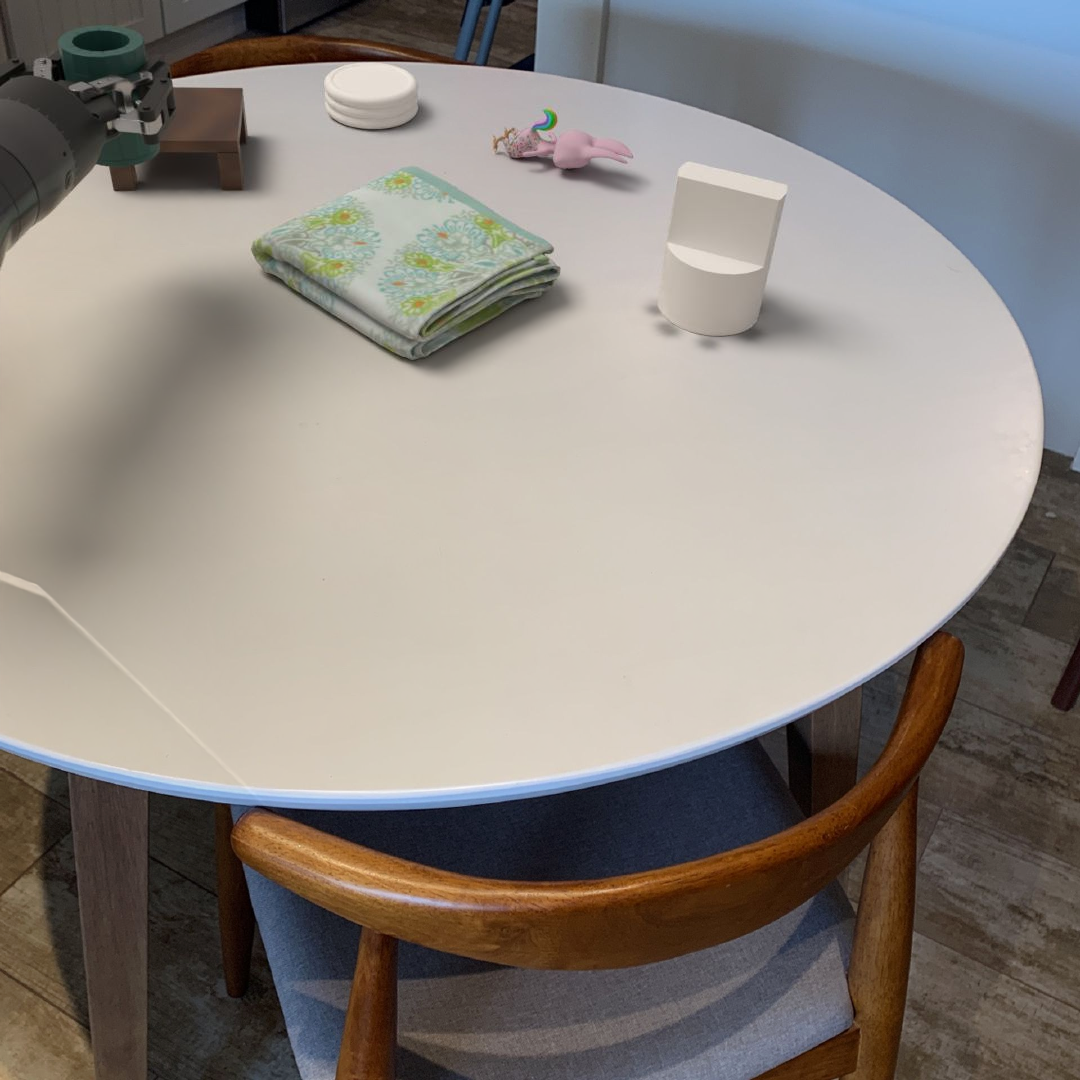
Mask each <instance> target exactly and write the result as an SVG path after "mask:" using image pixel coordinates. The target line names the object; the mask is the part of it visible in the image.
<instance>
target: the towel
mask: <svg viewBox="0 0 1080 1080" xmlns="http://www.w3.org/2000/svg"><path fill="white" fill-rule="evenodd" d="M250 251H251V254H252V255H253V257H254V259H255V261H256V263H257V264H258V266H259V267H260V268H261V270H262V271H264V272H265V273H267V274H272V275H274V276H276V277H277V278H278V279H281V280H282V281H283V282H284V283H285V284H286V285H287V286H288V287H289V288H291V289H293V290H294V291H296V292H298V293H299V294H301V295H302V296H303V297H305V298H307V299H308V300H311V301H312V302H313V303H315V304H316V305H317V306H319V307H321V308H322V309H324V310H325V311H326V312H328V313H330V314H331V315H333V316H335V317H336V318H338V319H340V320H341V321H343V322H344V323H346V324H348V325H349V326H350V327H352V328H354V329H355V330H356V331H358V332H359V333H361V334H363V335H364V336H366V337H368V338H369V339H371V340H372V341H373V342H375V343H376V344H377V345H380V346H381V347H382V348H383V347H384V348H385V349H387V350H389V351H390V352H392V353H394V354H396V355H398V356H400V357H403V358H406V359H409V360H410V361H414V360H418V359H421V358H425V357H426V358H427V357H428V356H430V354H431V353H434V352H436V351H437V350H439V349H441V348H442V347H444V346H445V345H447V344H449V343H450V342H452V341H454V340H456V339H458V338H460V337H461V336H463V335H465V334H466V333H469V332H471V331H472V330H475V329H476V328H478V327H480V326H482V325H484V324H485V323H488V322H489V321H491V320H492V319H494V318H496V317H497V316H499V315H501V314H502V313H504V312H505V311H506V310H508V309H510V308H511V307H514V306H516V305H518V304H519V303H520V302H522V301H524V300H526V299H534V298H539V297H541V296H542V294H543V292H547V291H549V290H550V289H553V288H554V287H555V284H556V282H557V280H558V279H557V278H558V277H560V275H561V266H560V265H558V264H556V263H555V261H554V260H553V259H551V258H549V256H547V255H551V254H553V253H554V251H555V247H554V246H553V245H552V244H551V243H550V242H549V241H547V240H546V239H544V238H543V237H540V236H538V235H537V234H533V233H532V232H530V231H528V230H526V229H524V228H522V227H521V226H519V225H517V224H516V223H514V222H513V221H510V219H507V218H505V217H504V216H502V215H500V214H499V213H497V212H496V211H494V210H493V209H491V208H490V207H489V206H486V205H485V204H484V203H482V202H481V201H479V200H477V198H474V197H472V196H471V195H470V194H468V193H466V192H464V191H463V190H462V189H459V188H458V187H457V186H455V185H453V184H451V183H449V182H448V181H446V180H444V179H442V178H440V177H439V176H436V175H434V174H433V173H431V172H429V171H427V170H424V169H422V168H420V167H419V166H414V165H412V166H411V165H410V166H406V167H405V166H404V167H402V168H399V169H398V170H394V171H391V172H390V173H388V174H385V175H382V176H381V177H378V178H376V179H374V180H372V181H370V182H368V183H365V184H363V185H362V186H359V187H357V188H355V189H354V190H353V189H352V190H350V191H349V192H347V193H344V194H342V195H341V196H339V197H336V198H333V199H331V200H329V201H327V202H325V203H322V204H321V205H318V206H316V207H314V208H312V209H311V210H309V211H307V212H306V211H305V212H304V213H302V214H300V215H298V216H296V217H294V218H292V219H290V220H288V221H286V222H285V223H282V224H280V225H278V226H276V227H275V228H273V229H271V230H268V231H267V232H265V233H264V234H262V235H260V236H259V237H257V238H255V239H254V240H253V241H252V245H251V247H250Z"/></svg>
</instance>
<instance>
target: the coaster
mask: <svg viewBox="0 0 1080 1080" xmlns="http://www.w3.org/2000/svg"><path fill="white" fill-rule="evenodd" d="M323 81H324V82H323V88H324V90H325V91H324V99H325V103H324V107H325V110H326V113H327V114H328V115H329V116H330V117H331V118H332V119H333V120H334V121H336V122H338V123H340V124H343V125H345V126H348V127H352V128H356V129H363V130H383V129H391V128H395V127H400V126H402V125H404V124H406V123H409V122H410V121H411V120H412V119H414V117H415V116H416V115H417V113H418V111H419V103H418V100H419V95H418V89H419V84H418V81H417V79H416V77H415V76H414V75H413V74H412V73H411V72H409V71H407V70H406V69H404V68H402V67H399V66H396V65H392V64H388V63H383V62H382V63H381V62H355V63H349V64H345V65H341V66H339V67H337V68H335V69H333V70H331V71H330V72H329V73H328V74H327V75H326V77H325V78H324V80H323Z"/></svg>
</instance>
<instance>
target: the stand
mask: <svg viewBox="0 0 1080 1080" xmlns="http://www.w3.org/2000/svg"><path fill="white" fill-rule="evenodd" d="M173 90H174V97H175V104H176V111H177V114H176V116H175V117H174V119H173V121H172V122H171V124H170V126H169V127H168V129H167V131H166V133H165V134H164V136H163V138H162V139H161V141H160V142H159V143H160V151H159V153H216V157H217V158H216V159H217V164H218V173H219V180H220V187H221V190H222V191H243V190H244V182H245V181H244V171H243V170H244V169H243V161H242V154H241V153H242V152H241V144H247V143H248V135H249V134H248V126H247V125H248V124H247V116H246V107H245V97H244V88H243V87H197V86H196V87H195V86H194V87H193V86H192V87H189V86H188V87H185V86H177V87H176V86H173ZM108 169H109V174H110V180H111V185H112V190H113V191H136V187H137V185H138V176H137V171H136V165H132V166H124V167H109V166H108Z"/></svg>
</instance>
